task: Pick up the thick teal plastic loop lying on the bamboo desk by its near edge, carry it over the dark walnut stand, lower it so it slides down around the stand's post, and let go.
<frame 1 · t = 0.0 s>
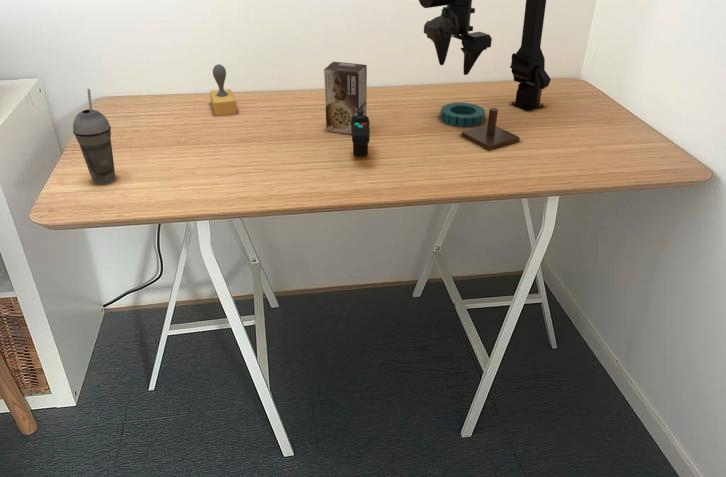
hand: (453, 69, 152), 15 cm above the table, tool pointing down, fingers open, 9 cm apart
hoop: (462, 118, 164), on the table
stand: (489, 139, 153), on the table
controller: (360, 157, 143), on the table
rubber stamp: (223, 108, 169), on the table
beverage cup: (104, 180, 132), on the table
coffee box: (346, 129, 157), on the table
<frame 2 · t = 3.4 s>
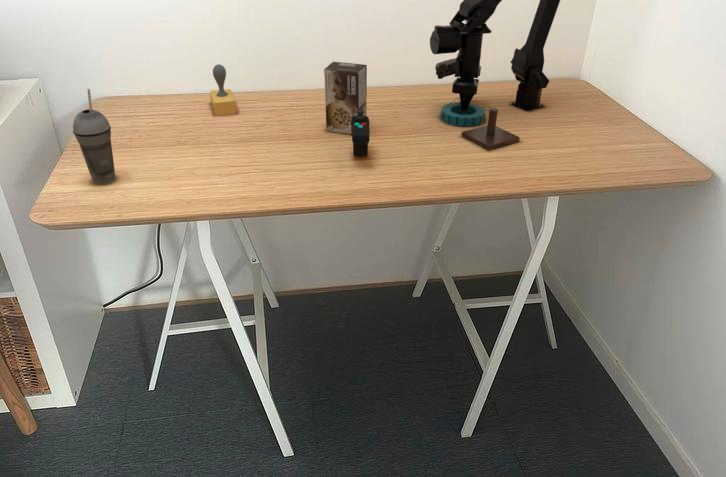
hand: (464, 109, 167), 1 cm above the table, tool pointing down, fingers closed on hoop, 2 cm apart
hoop: (462, 118, 164), on the table, touching gripper
everything else where it was.
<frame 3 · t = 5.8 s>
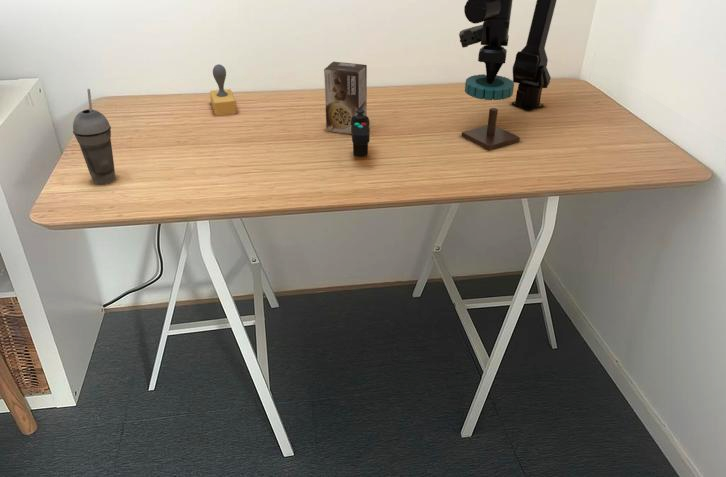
hand: (489, 81, 152), 12 cm above the table, tool pointing down, fingers closed on hoop, 2 cm apart
hoop: (488, 91, 149), point 11 cm above the table, touching gripper
everything else where it was.
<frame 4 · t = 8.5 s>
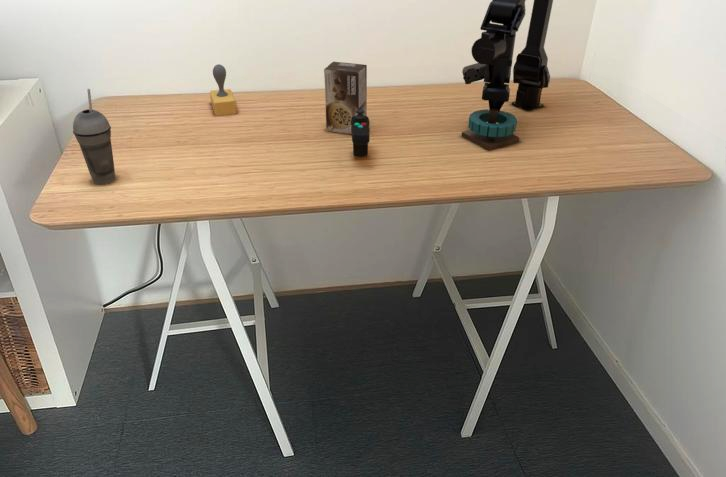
hand: (492, 116, 154), 4 cm above the table, tool pointing down, fingers closed on hoop, 2 cm apart
hoop: (491, 127, 151), point 3 cm above the table, touching gripper
everything else where it was.
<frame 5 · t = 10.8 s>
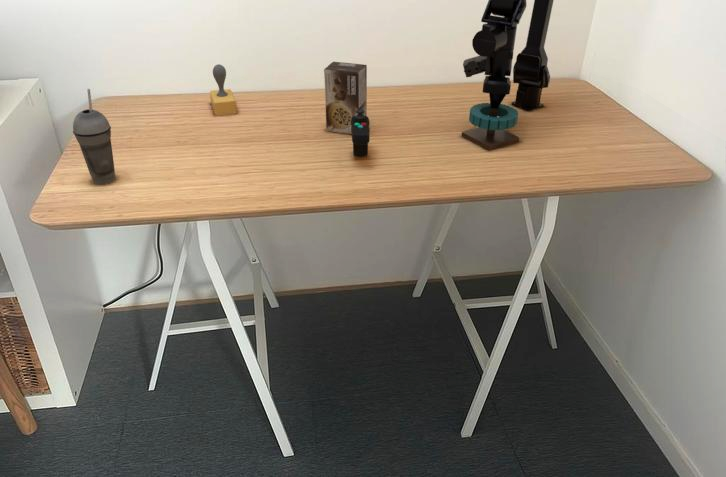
hand: (493, 110, 153), 6 cm above the table, tool pointing down, fingers closed on hoop, 2 cm apart
hoop: (492, 120, 150), point 5 cm above the table, touching gripper
everything else where it was.
when the fingers open (6 cm above the table, at t = 12.5 s): hoop drops 4 cm, resting on stand.
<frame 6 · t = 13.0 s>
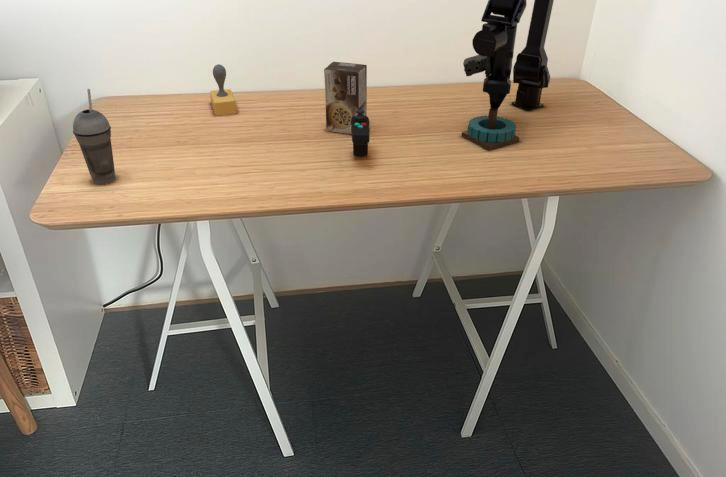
hand: (493, 108, 154), 6 cm above the table, tool pointing down, fingers open, 6 cm apart
hoop: (491, 133, 153), point 1 cm above the table, touching stand
everything else where it was.
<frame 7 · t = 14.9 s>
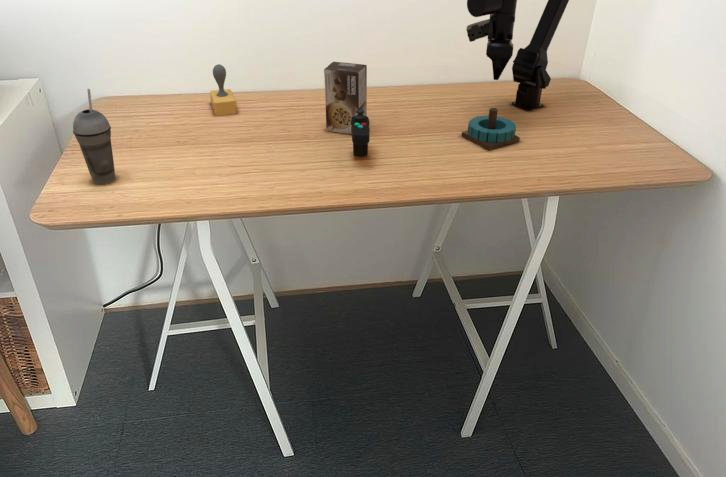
hand: (496, 74, 158), 12 cm above the table, tool pointing down, fingers open, 9 cm apart
nothing on the table moved.
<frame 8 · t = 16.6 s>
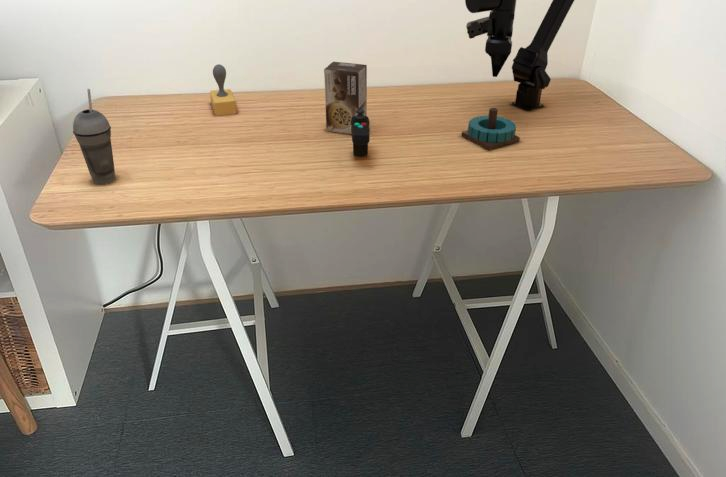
hand: (495, 71, 160), 12 cm above the table, tool pointing down, fingers open, 9 cm apart
nothing on the table moved.
at the end: hoop 0.8 cm from the stand (horizontally); hoop point 1.2 cm above the table; the gripper is holding nothing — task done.
